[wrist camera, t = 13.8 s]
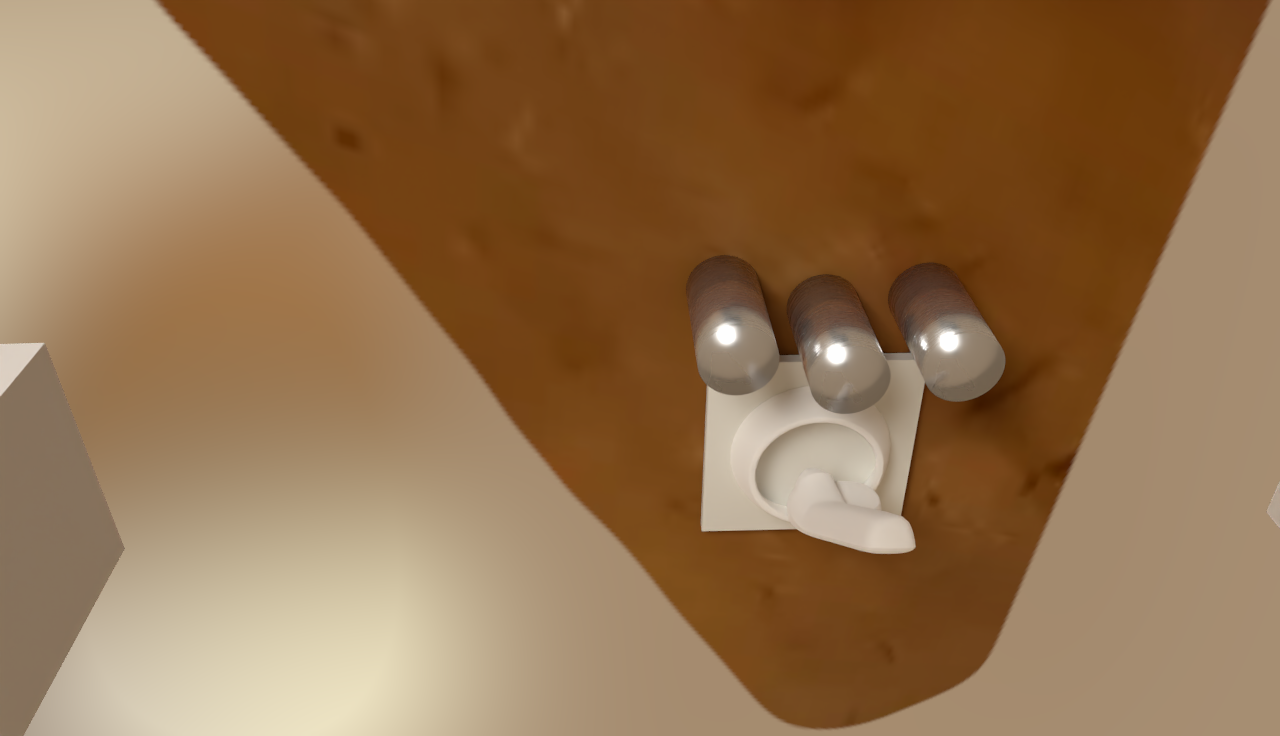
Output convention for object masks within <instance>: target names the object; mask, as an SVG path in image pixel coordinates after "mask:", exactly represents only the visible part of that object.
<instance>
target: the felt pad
mask: <svg viewBox="0 0 1280 736" xmlns="http://www.w3.org/2000/svg"><path fill="white" fill-rule="evenodd" d="M883 354H884V356H885V359H886V361H887V363H888V365H889V368H890V374H891V377H890V383H889V386H888V389H887V391H886V392H885V394H884V395H883V397H882V398H881V399H880V400H879V401H878V402H877V403H875V404H874V406H875V407H876V408H877V409H878V411H879V412H880V413H881V415H882V416H883V417H884V419H885V422H886V424H887V426H888V429H889V434H890V441H891V444H890V453H889V460H888V464H887V467H886V470H885V473H884V476H883V478H882V480H881V482H880V484H879V485H878V487H877V489H876V490H875V492H876V493H877V495H878V496H879V498H880V502H881V508H882V511H886V512H889V513H893V514H896V515H899V516H901V512H902V507H903V501H904V496H905V490H906V485H907V479H908V473H909V468H910V462H911V457H912V451H913V446H914V440H915V435H916V429H917V423H918V418H919V412H920V407H921V401H922V396H923V390H924V385H925V381H924V379H923V377H922V375H921V373H920V371H919V368H918V366H917V364H916V362H915V360H914V358H913V356H912V354H911V353H883ZM805 386H809V384H808V381H807V377H806V374H805V371H804V368H803V365H802V361H801V358H800V355H779V366H778V369H777V371H776V373H775V375H774V376H773V378H772V379H771V380H770V381H769V382H768V383H767V384H766V385H765V386H764V387H762V388H761V389H759V390H757V391H755V392H752V393H749V394H745V395H726V394H722V393H719V392H717V391H715V390H713V389H712V388H710V387H709V386H708V385H707V395H706V417H705V440H704V462H703V485H702V507H701V529H702V531H734V530H777V529H796V528H795V527H794V526H793V525H792V524H791V523H790V522H788V521H784V520H781V519H779V518H777V517H774V516H772V515H770V514H769V513H767V512H765V511H764V510H763V509H761V508H760V507H759V506H757V505H756V504H755V503H754V502H753V501H752V500H750V498H749V497H748V496H747V495H746V494H745V493H744V492H743V490H742V489H741V488H740V487H739V485H738V483H737V481H736V479H735V477H734V475H733V472H732V467H731V447H732V443H733V439H734V436H735V434H736V432H737V430H738V428H739V426H740V425H741V423H742V422H743V421H744V420H745V418H746V417H747V416H748V415H749V414H750V413H751V412H752V411H753V410H754V409H755V408H757V407H758V406H759V405H760V404H761V403H763V402H765V401H767V400H768V399H770V398H772V397H773V396H775V395H778V394H780V393H783V392H785V391H788V390H791V389H796V388H800V387H805ZM875 463H876V460H875V454H874V452H873V450H872V447H871V445H870V444H869V443H868V442H867V440H866V439H865V438H864V437H863V436H862V435H860V434H859V433H858V432H856V431H854V430H852V429H850V428H848V427H846V426H842V425H839V424H833V423H812V424H807V425H802V426H799V427H796V428H794V429H791V430H789V431H787V432H785V433H784V434H782V435H780V436H779V437H777V438H776V439H775V440H774V441H773V442H771V443H770V444H769V446H768V447H767V448H766V449H765V450H764V452H763V453H762V455H761V457H760V459H759V461H758V464H757V468H756V483H757V488H758V490H759V492H760V493H761V494H762V496H763V497H765V498H766V499H767V500H769V501H772V502H774V503H776V504H779V505H783V506H787V500H788V498H789V496H790V493H791V492H792V490H793V489H794V487H795V484H796V481H797V479H798V477H799V476H800V474H801V473H802V472H803V471H804V470H806V469H810V468H818V469H821V470H823V471H824V472H826V473H829V474H831V475H832V476H833V479H834V481H853V482H858V483H861V484H864V483H865V481H866V480H867V479H868V478H869V477H870V475H871V473H872V472H873V470H874V467H875Z"/></svg>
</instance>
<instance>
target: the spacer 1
mask: <svg viewBox="0 0 1280 736" xmlns="http://www.w3.org/2000/svg"><path fill="white" fill-rule="evenodd" d="M686 294H687V301H688V307H689V314H690V320H691V327H692V333H693V339H694V346H695V352H696V359H697V365H698V370H699V373H700V376H701V378H702V379H703V381H704V382H705V383H706V384H707V385H708V386H709V387H710V388H712V389H713V390H715V391H717V392H719V393H722V394H726V395H745V394H749V393H752V392H755V391H757V390H759V389H761V388H762V387H764V386H765V385H766V384H767V383H768V382H769V381H770V380H771V379H772V378H773V376H774V375H775V373H776V371H777V369H778V366H779V351H778V347H777V344H776V340H775V337H774V333H773V330H772V326H771V322H770V319H769V315H768V312H767V308H766V305H765V301H764V298H763V294H762V291H761V287H760V284H759V280H758V277H757V274H756V272H755V271H754V269H753V268H752V267H751V266H750V264H748V263H747V262H746V261H744V260H742V259H740V258H738V257H734V256H728V255H722V256H715V257H712V258H709V259H707V260H705V261H703V262H701V263H700V264H699V265H698V266H697V267H696V268H695V269H694V270H693V271H692V272H691V274H690V276H689V278H688V281H687V285H686Z"/></svg>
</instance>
